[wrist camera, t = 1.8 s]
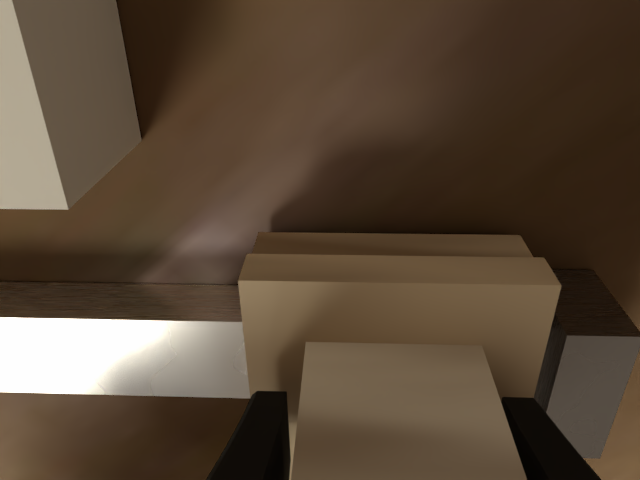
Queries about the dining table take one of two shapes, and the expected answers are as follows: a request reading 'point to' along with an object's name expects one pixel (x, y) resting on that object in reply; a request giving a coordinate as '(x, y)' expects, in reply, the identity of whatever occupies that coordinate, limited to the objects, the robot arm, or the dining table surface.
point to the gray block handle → (230, 358)
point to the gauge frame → (61, 100)
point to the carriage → (397, 349)
